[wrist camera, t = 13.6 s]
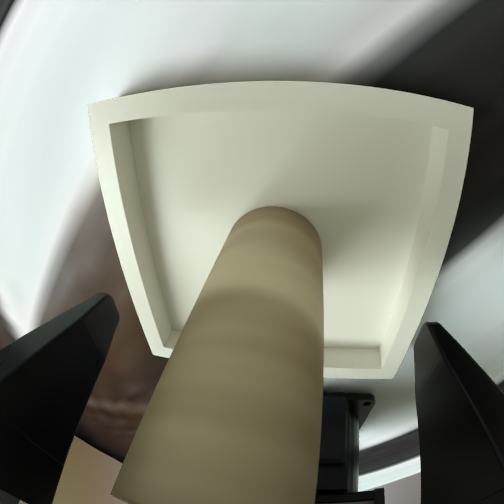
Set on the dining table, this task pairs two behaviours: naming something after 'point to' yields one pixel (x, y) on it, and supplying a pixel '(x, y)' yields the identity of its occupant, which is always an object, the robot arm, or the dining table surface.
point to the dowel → (241, 378)
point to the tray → (286, 199)
